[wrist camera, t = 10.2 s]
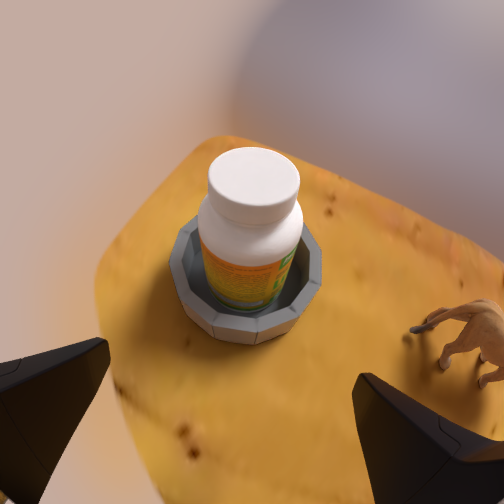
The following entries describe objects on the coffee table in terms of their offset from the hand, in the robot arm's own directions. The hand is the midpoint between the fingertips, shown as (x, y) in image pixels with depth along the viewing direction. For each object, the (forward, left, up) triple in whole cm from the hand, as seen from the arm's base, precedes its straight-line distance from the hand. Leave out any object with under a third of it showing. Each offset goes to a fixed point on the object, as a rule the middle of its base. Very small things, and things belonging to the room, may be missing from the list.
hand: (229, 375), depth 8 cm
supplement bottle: (+4, +7, -8) cm, 11 cm away
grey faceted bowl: (+4, +7, -9) cm, 12 cm away
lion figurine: (+19, -7, -9) cm, 22 cm away
